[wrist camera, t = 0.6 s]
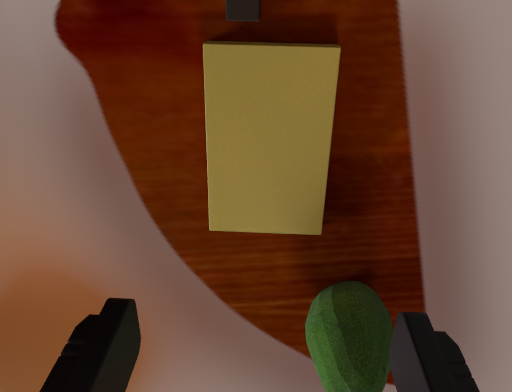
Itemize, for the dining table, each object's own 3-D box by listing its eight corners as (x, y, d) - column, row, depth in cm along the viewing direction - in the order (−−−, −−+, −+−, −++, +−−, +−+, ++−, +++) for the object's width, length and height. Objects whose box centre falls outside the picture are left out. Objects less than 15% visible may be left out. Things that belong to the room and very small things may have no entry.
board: (205, 40, 33) (202, 43, 32) (338, 44, 33) (341, 47, 31) (211, 222, 40) (209, 230, 39) (319, 226, 40) (321, 235, 39)
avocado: (286, 294, 44) (289, 398, 33) (347, 249, 41) (371, 347, 30) (338, 337, 46) (356, 447, 36) (399, 297, 43) (438, 404, 33)
